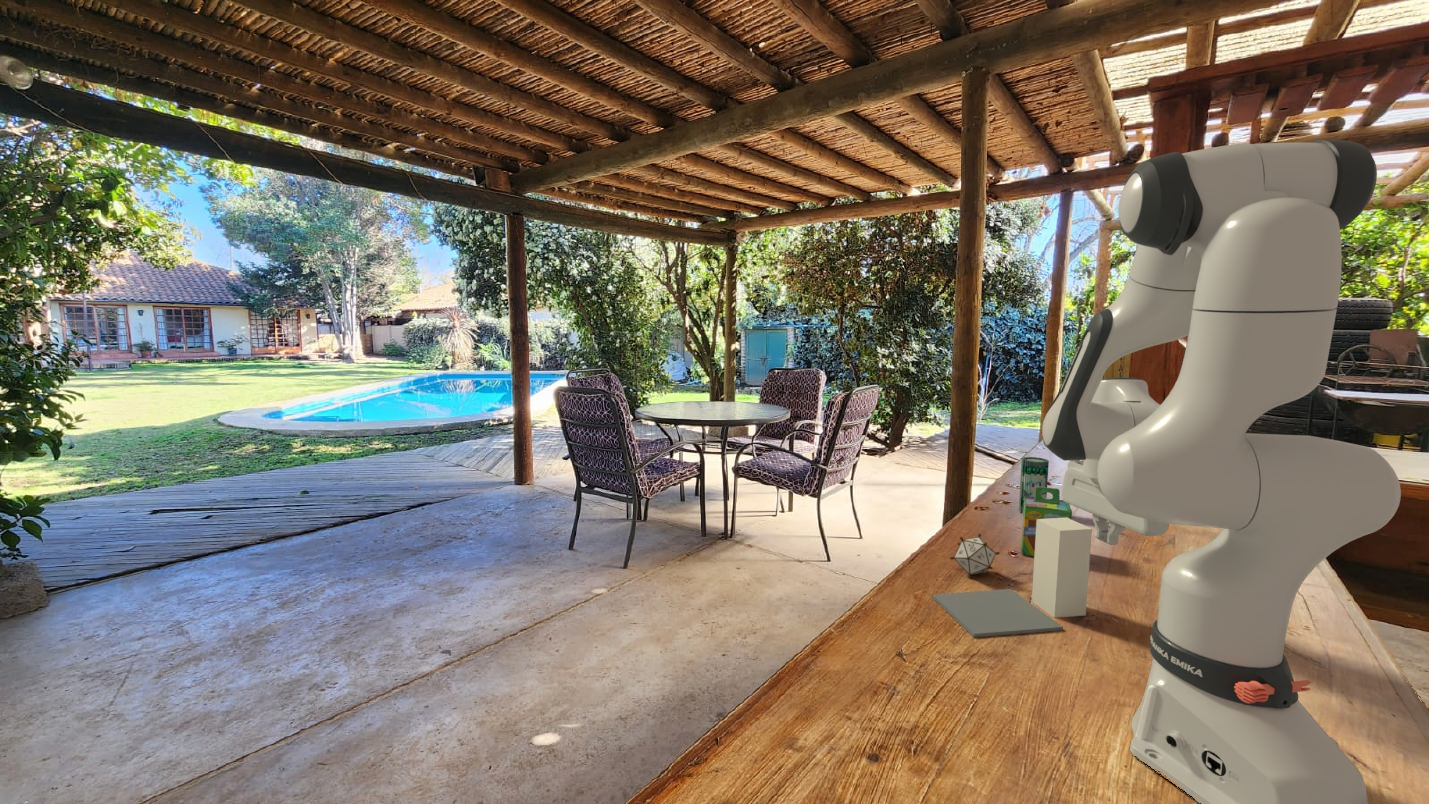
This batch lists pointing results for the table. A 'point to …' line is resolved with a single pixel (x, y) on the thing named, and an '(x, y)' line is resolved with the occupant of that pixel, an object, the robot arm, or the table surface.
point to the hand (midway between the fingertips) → (1107, 542)
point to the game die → (974, 555)
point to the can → (1032, 477)
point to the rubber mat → (995, 613)
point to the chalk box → (1040, 515)
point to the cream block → (1061, 566)
